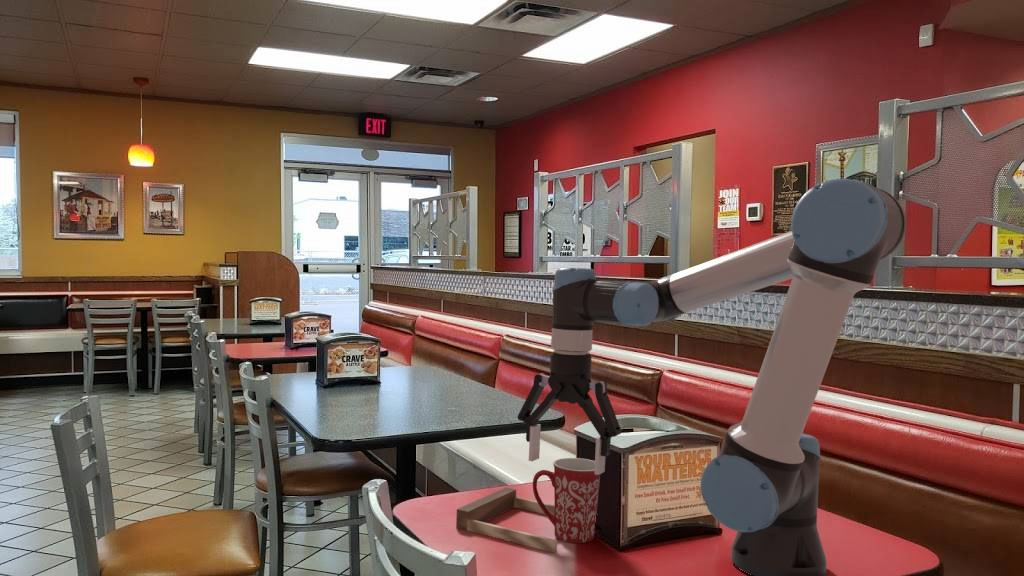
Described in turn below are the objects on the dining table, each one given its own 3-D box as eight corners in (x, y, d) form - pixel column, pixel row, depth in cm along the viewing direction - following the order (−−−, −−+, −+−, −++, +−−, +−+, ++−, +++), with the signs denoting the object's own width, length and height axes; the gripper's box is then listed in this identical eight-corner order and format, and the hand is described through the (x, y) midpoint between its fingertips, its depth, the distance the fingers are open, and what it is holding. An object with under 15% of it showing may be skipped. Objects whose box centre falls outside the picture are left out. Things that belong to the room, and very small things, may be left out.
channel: (597, 525, 143) (598, 507, 143) (554, 553, 129) (555, 533, 128) (505, 503, 154) (505, 487, 154) (456, 527, 140) (456, 509, 139)
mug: (600, 529, 141) (602, 459, 141) (599, 547, 132) (601, 471, 132) (533, 524, 143) (536, 454, 142) (528, 541, 134) (530, 467, 133)
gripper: (642, 357, 133) (637, 474, 134) (523, 343, 146) (518, 450, 147) (626, 360, 127) (620, 484, 127) (502, 346, 140) (498, 458, 140)
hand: (565, 466), depth 137 cm, fingers open, 13 cm apart
